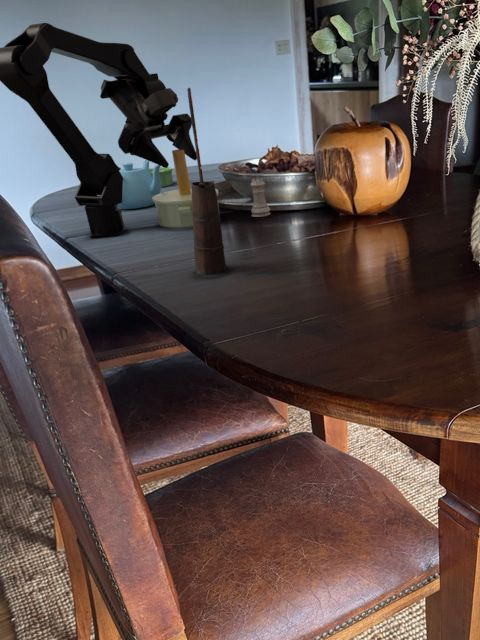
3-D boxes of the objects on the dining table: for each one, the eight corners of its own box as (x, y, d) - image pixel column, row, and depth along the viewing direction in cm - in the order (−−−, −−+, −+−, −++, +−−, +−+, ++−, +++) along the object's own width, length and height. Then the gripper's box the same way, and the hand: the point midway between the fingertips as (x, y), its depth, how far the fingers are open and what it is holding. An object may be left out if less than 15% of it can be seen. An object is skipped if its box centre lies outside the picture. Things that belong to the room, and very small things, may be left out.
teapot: (112, 214, 160) (102, 170, 154) (102, 204, 171) (92, 163, 166) (170, 205, 165) (162, 162, 159) (156, 196, 176) (148, 156, 171)
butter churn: (232, 283, 104) (204, 88, 90) (176, 284, 106) (140, 93, 92) (246, 266, 112) (223, 84, 98) (194, 267, 114) (163, 89, 99)
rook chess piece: (268, 219, 143) (264, 181, 138) (248, 219, 143) (244, 181, 139) (273, 214, 146) (269, 177, 142) (254, 214, 147) (250, 178, 143)
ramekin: (143, 185, 195) (140, 169, 193) (173, 181, 197) (170, 165, 195) (145, 189, 187) (142, 173, 185) (176, 185, 189) (173, 169, 187)
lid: (149, 209, 136) (139, 158, 131) (156, 196, 149) (147, 149, 144) (218, 202, 137) (211, 151, 132) (219, 190, 150) (212, 143, 145)
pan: (155, 235, 137) (150, 208, 134) (163, 216, 153) (159, 192, 150) (219, 228, 138) (216, 202, 135) (220, 210, 154) (217, 186, 151)
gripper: (114, 79, 126) (166, 140, 126) (178, 72, 139) (226, 127, 140) (96, 124, 134) (146, 181, 134) (159, 113, 147) (204, 165, 148)
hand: (182, 162), depth 139 cm, fingers open, 9 cm apart
